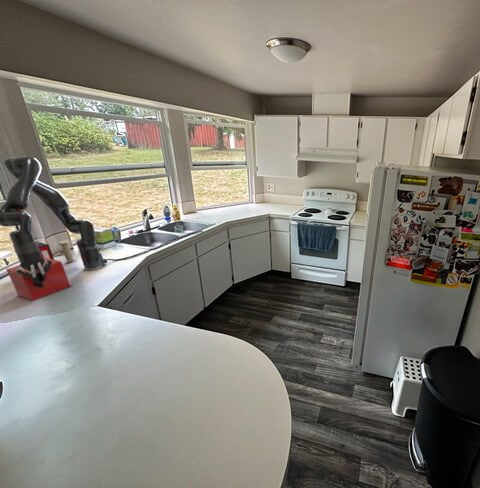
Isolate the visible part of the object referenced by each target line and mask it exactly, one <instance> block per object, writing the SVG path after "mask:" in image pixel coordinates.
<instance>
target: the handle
mask: <svg viewBox="0 0 480 488" xmlns="http://www.w3.org/2000/svg"><path fill="white" fill-rule="evenodd" d="M69 244H70V241H69V240H68V239H67V240H61V241H58V245H59V246H61V248H62V253H63V255H64V258H65V259H66V262H67V263H73V262H75V259H74V256H73V252H72V250H71V248H70V246H69Z"/></svg>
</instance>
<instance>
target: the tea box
mask: <svg viewBox="0 0 480 488" xmlns="http://www.w3.org/2000/svg"><path fill="white" fill-rule="evenodd" d="M93 227H94V226H93ZM94 231H95V235H96V244H97V247H98V249H103V250H106V249H108V248H111V247H113V246H116V241H115V237H114V233H113V231H112V228H111V227H99V226H95V227H94Z"/></svg>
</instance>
